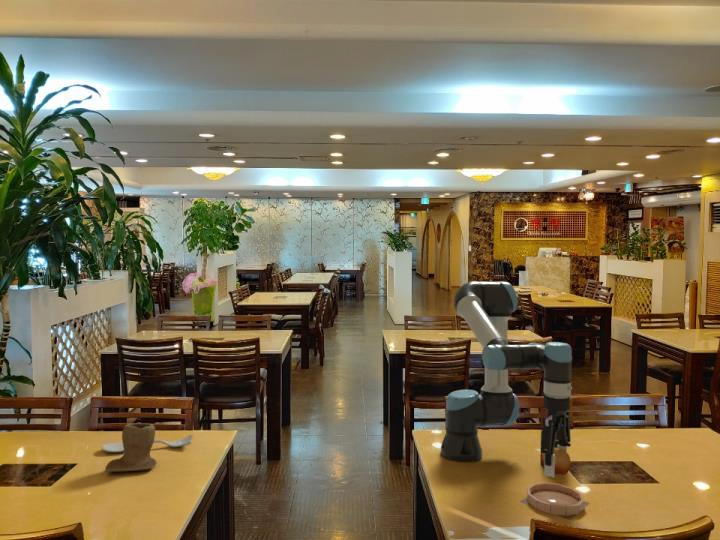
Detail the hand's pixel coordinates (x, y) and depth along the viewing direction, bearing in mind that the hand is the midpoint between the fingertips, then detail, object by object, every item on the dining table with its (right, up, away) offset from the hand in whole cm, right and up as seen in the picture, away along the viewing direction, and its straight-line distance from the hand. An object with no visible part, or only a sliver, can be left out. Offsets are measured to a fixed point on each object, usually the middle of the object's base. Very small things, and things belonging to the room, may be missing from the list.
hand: (555, 471), depth 154 cm
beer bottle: (+10, -10, +29) cm, 32 cm away
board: (0, -10, 0) cm, 10 cm away
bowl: (0, -9, 0) cm, 9 cm away
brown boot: (-136, -8, +24) cm, 138 cm away
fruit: (0, -1, 0) cm, 1 cm away
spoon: (-138, -8, +42) cm, 145 cm away
